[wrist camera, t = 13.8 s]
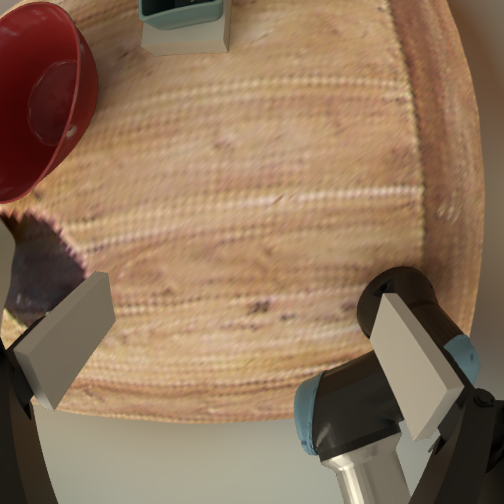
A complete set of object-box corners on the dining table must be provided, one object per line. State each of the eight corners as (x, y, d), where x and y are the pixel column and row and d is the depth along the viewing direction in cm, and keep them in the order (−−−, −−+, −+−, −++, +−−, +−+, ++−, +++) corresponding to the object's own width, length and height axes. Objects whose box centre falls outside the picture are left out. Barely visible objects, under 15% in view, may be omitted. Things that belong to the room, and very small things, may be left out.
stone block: (233, -7, 32) (229, -25, 26) (227, 52, 36) (223, 40, 30) (162, -2, 32) (150, -18, 26) (154, 56, 36) (140, 46, 30)
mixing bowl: (100, 206, 44) (44, 236, 30) (-3, 160, 41) (-58, 174, 26) (161, 40, 35) (119, 2, 20) (39, 24, 31) (-13, 7, 17)
